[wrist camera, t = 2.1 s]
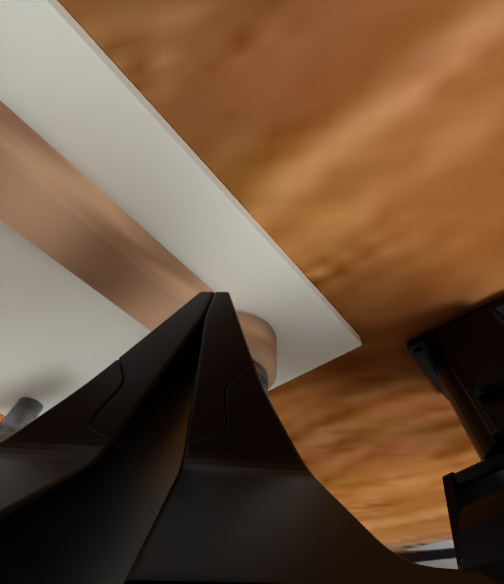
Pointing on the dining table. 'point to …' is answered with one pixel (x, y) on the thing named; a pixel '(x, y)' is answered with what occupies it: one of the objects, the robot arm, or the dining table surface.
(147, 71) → the dining table surface
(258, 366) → the keeper
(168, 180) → the hinge board
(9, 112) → the link
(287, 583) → the robot arm
